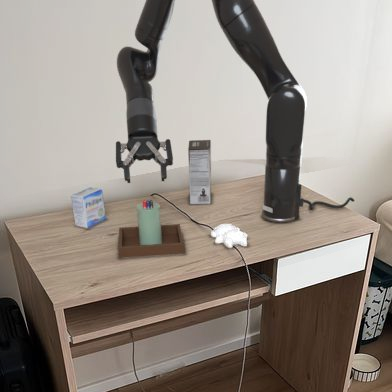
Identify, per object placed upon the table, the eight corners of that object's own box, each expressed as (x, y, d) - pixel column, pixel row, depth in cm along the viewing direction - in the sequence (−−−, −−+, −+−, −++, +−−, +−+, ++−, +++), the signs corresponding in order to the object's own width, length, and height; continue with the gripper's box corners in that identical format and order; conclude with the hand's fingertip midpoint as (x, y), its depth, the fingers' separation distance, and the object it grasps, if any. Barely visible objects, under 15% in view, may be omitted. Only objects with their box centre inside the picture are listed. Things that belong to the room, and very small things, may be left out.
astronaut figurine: (218, 250, 133) (218, 238, 131) (207, 231, 142) (207, 220, 140) (253, 246, 134) (253, 235, 132) (240, 228, 144) (240, 217, 142)
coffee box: (190, 194, 167) (188, 139, 158) (211, 193, 167) (210, 139, 157) (189, 204, 159) (187, 148, 150) (211, 204, 159) (211, 147, 150)
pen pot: (161, 239, 138) (158, 194, 131) (162, 248, 133) (159, 202, 127) (139, 240, 138) (135, 195, 131) (140, 250, 133) (136, 203, 126)
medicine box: (87, 229, 145) (82, 197, 141) (75, 226, 147) (70, 194, 143) (106, 219, 151) (102, 188, 146) (94, 216, 153) (90, 186, 148)
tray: (180, 234, 141) (179, 223, 140) (184, 254, 131) (183, 243, 129) (120, 237, 140) (119, 227, 139) (119, 258, 130) (118, 247, 128)
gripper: (112, 114, 134) (116, 174, 131) (169, 111, 135) (174, 171, 132) (114, 131, 141) (118, 189, 138) (169, 129, 142) (174, 186, 139)
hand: (146, 180), depth 135 cm, fingers open, 8 cm apart
